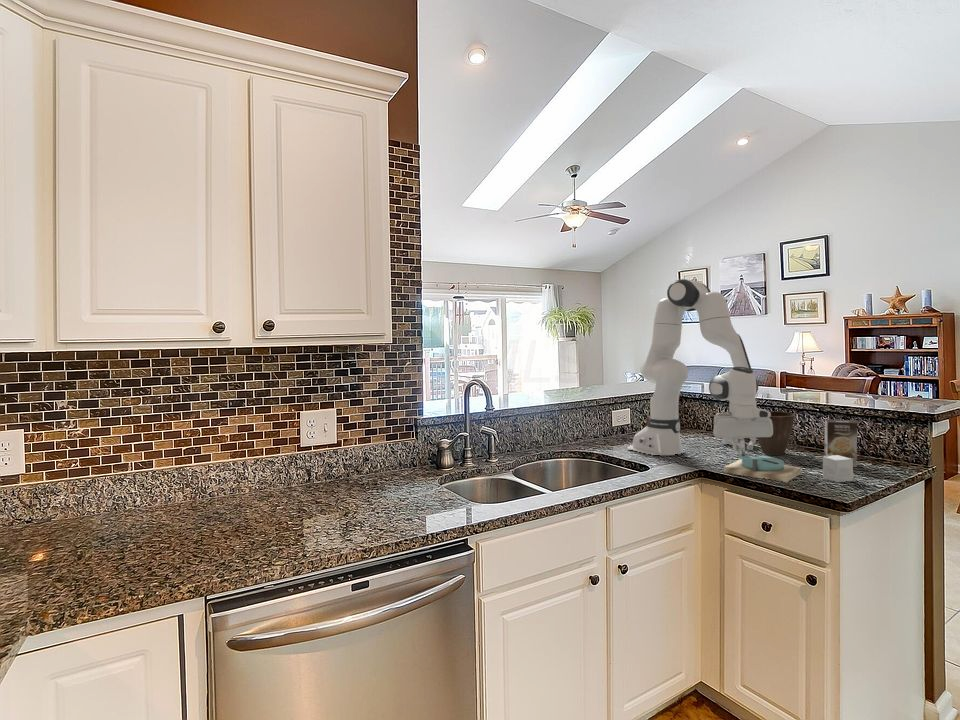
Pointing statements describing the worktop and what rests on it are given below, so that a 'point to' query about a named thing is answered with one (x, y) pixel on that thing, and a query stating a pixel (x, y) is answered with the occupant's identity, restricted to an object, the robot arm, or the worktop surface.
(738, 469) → the dial base
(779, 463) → the dial
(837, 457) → the skincare box
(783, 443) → the plant pot
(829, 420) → the coffee box
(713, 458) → the worktop surface
